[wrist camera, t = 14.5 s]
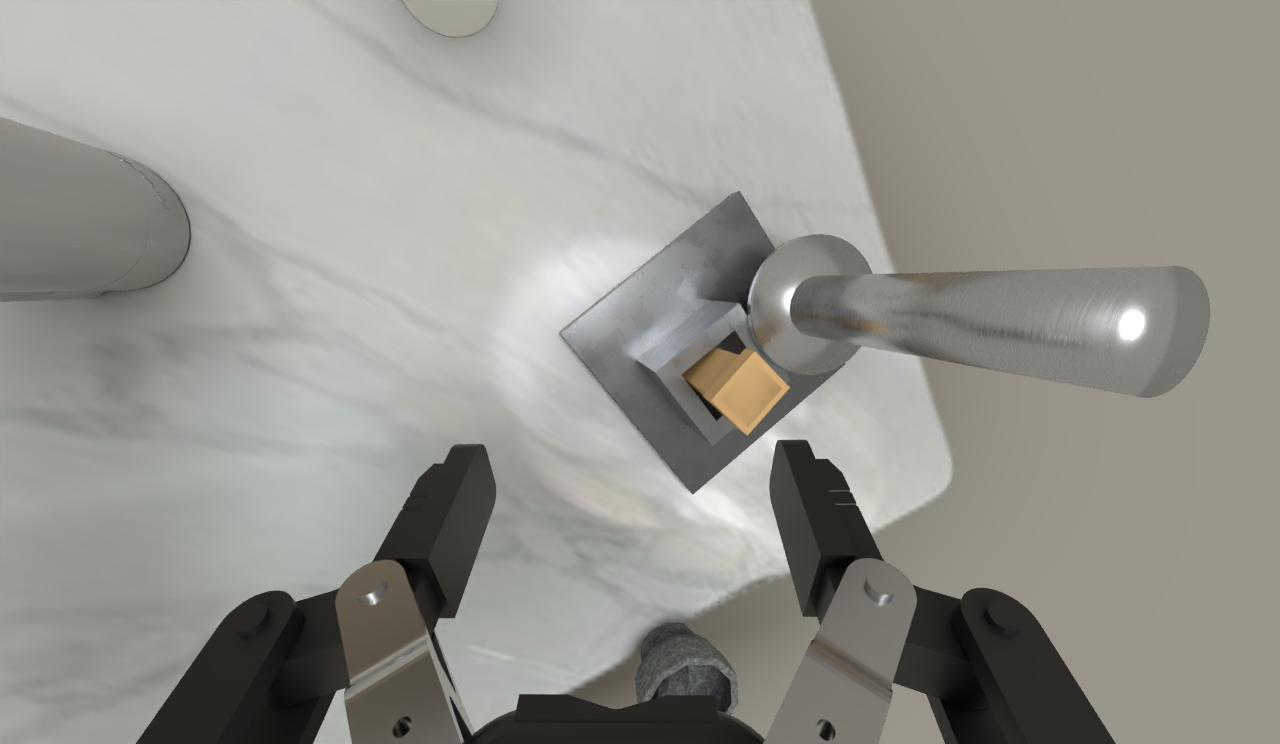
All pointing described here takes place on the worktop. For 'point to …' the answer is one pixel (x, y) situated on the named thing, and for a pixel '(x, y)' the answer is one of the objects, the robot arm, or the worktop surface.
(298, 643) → the robot arm
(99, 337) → the worktop surface
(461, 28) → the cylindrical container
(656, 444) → the grey fixture with cylinder
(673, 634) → the mortar and pestle
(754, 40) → the worktop surface
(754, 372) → the orange square peg
